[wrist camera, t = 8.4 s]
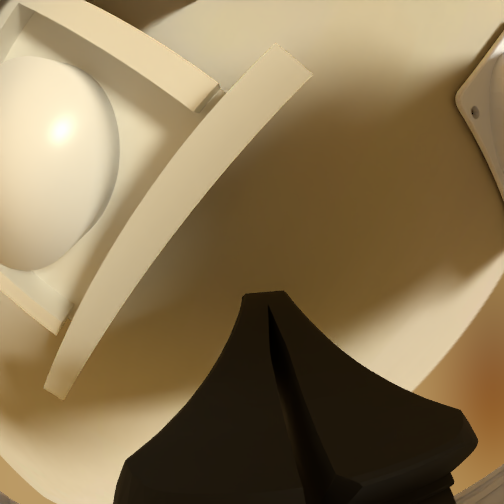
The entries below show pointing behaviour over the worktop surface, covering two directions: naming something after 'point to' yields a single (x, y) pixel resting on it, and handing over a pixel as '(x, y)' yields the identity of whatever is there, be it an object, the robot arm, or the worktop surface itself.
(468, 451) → the robot arm
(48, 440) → the worktop surface
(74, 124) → the disc
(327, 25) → the worktop surface
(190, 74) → the tray
